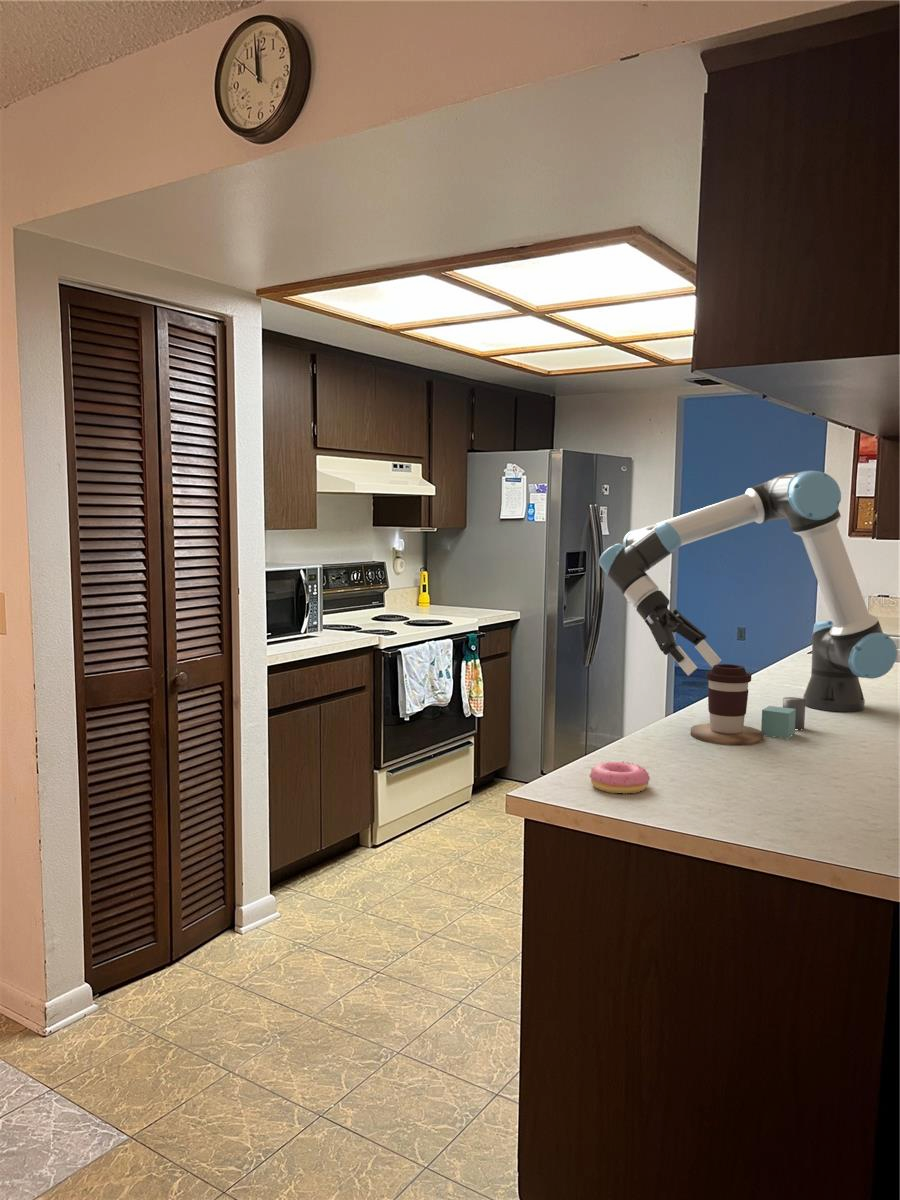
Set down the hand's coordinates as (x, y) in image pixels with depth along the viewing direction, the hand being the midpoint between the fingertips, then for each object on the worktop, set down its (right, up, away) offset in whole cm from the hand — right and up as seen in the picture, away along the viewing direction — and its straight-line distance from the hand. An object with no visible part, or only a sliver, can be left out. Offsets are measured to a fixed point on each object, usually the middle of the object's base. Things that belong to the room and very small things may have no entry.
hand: (705, 668), depth 209 cm
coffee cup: (+4, -15, -1) cm, 15 cm away
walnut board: (+4, -16, -2) cm, 16 cm away
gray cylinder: (+23, -15, +7) cm, 28 cm away
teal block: (+17, -16, 0) cm, 23 cm away
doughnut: (-28, -19, -41) cm, 53 cm away
